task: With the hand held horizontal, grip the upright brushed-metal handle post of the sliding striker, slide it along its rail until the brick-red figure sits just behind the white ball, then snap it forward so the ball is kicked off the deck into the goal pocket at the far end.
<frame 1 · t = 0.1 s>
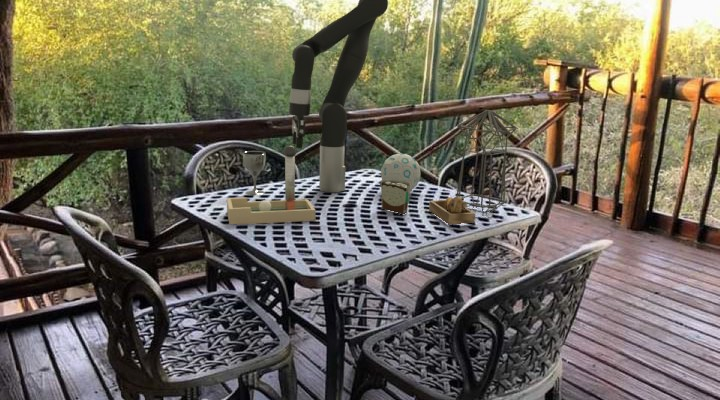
hand: (297, 146, 215), 17 cm above the table, tool pointing down, fingers open, 8 cm apart
puzzle ball: (399, 193, 222), on the table
wine glass: (255, 193, 215), on the table
lion figurine: (452, 220, 189), resting in figurine crate
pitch: (268, 216, 186), on the table
geometric lantern: (479, 214, 196), on the table
ball: (265, 206, 185), point 3 cm above the table, touching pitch
striker: (290, 177, 184), point 13 cm above the table, slide at 0.0 cm
figurine crate: (450, 218, 190), on the table
food container: (398, 211, 198), on the table
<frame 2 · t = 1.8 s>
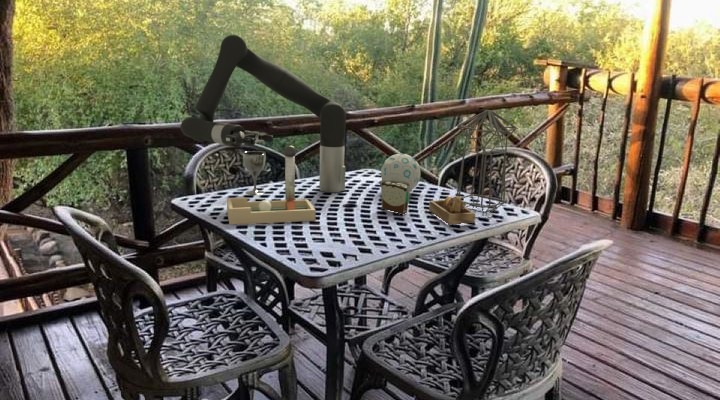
hand: (263, 140, 188), 23 cm above the table, tool horizontal, fingers open, 8 cm apart
nothing on the table moved.
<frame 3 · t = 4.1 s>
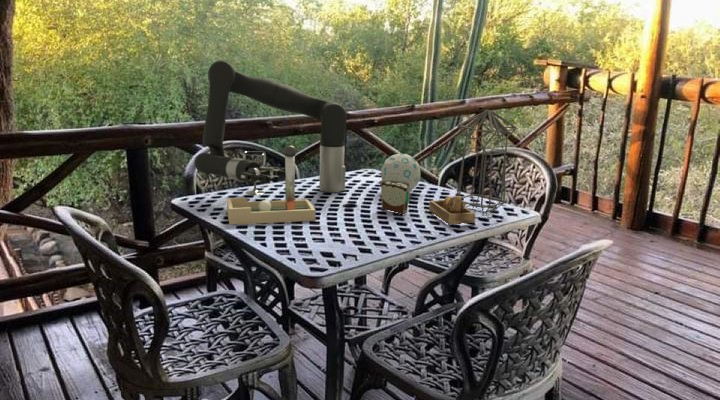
hand: (278, 177, 187), 12 cm above the table, tool horizontal, fingers open, 8 cm apart
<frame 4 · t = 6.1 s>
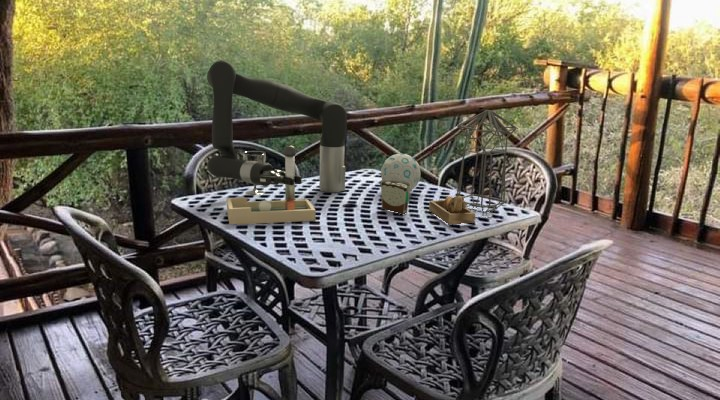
hand: (296, 180, 183), 12 cm above the table, tool horizontal, fingers closed on striker, 3 cm apart
striker: (290, 177, 184), point 13 cm above the table, slide at 0.0 cm, touching gripper
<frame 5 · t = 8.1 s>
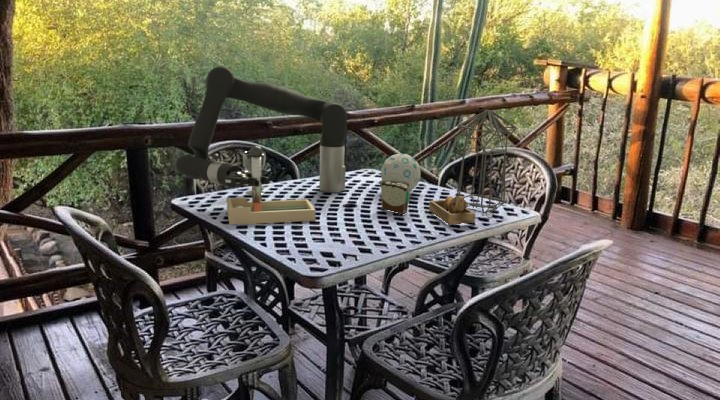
hand: (263, 181, 180), 12 cm above the table, tool horizontal, fingers open, 3 cm apart
ball: (239, 212, 183), point 2 cm above the table, tilted 117°
striker: (256, 178, 182), point 13 cm above the table, slide at 10.5 cm
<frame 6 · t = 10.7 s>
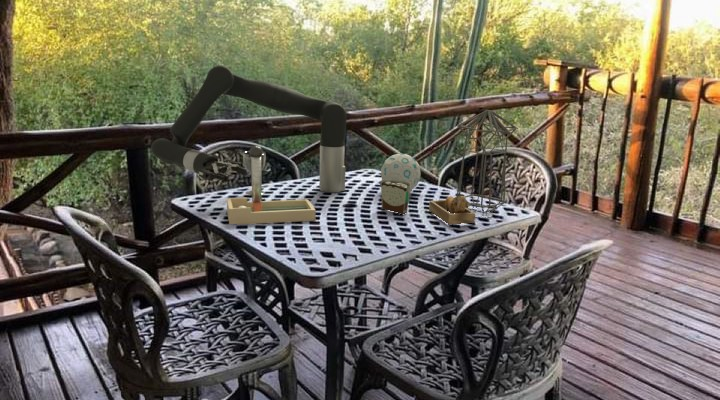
hand: (237, 175, 188), 12 cm above the table, tool horizontal, fingers open, 8 cm apart
ball: (242, 212, 183), point 2 cm above the table, tilted 144°
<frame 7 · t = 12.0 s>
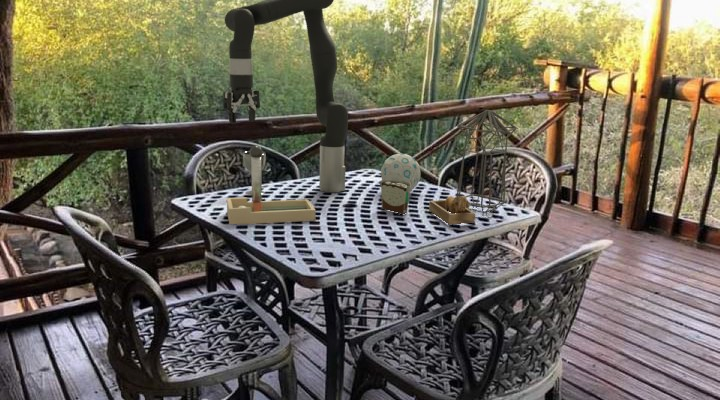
hand: (242, 122, 194), 28 cm above the table, tool pointing down, fingers open, 8 cm apart
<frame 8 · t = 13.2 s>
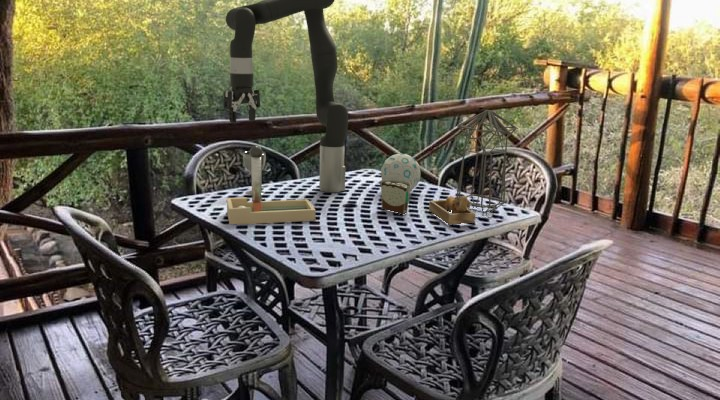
hand: (242, 121, 194), 28 cm above the table, tool pointing down, fingers open, 8 cm apart
lion figurine: (454, 219, 190), resting in figurine crate
everything else where it was.
at the end: ball inside the target area (0.5 cm from its centre), point 2.0 cm above the table; striker slide at 10.5 cm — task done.
